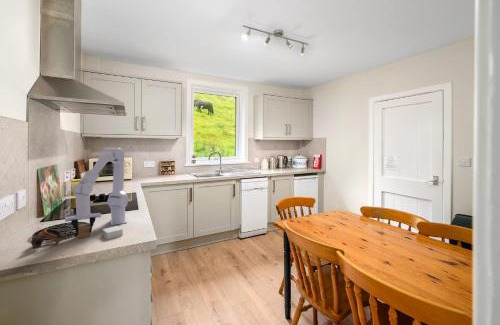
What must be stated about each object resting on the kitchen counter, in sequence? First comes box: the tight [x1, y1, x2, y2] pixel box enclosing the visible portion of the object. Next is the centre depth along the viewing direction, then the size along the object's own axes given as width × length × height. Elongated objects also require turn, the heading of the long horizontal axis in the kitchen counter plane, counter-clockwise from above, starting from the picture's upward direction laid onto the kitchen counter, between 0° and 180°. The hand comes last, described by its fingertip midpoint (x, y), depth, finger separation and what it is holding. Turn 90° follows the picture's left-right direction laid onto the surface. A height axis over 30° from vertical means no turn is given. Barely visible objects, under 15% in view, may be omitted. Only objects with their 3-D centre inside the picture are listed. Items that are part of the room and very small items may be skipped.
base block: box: [102, 225, 124, 240], centre depth 120 cm, size 7×7×4 cm
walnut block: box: [78, 222, 91, 239], centre depth 118 cm, size 4×4×6 cm
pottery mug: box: [30, 228, 63, 250], centre depth 106 cm, size 12×10×8 cm
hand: (84, 233), depth 118 cm, fingers closed on walnut block, 4 cm apart
